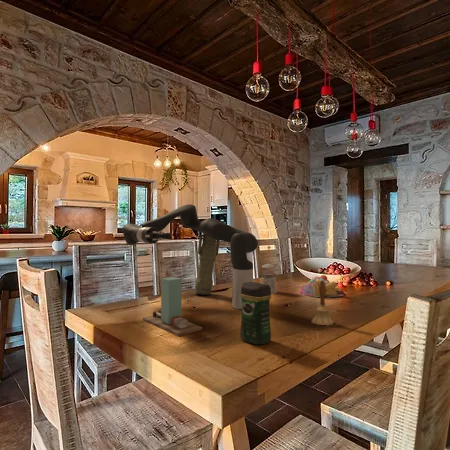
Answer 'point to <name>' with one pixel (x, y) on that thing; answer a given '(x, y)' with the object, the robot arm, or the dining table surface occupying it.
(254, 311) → the coffee jar
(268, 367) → the dining table surface
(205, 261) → the thermos
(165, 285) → the sleeve
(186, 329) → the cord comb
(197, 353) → the dining table surface
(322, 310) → the hand bell
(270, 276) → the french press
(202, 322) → the dining table surface
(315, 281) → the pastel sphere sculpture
